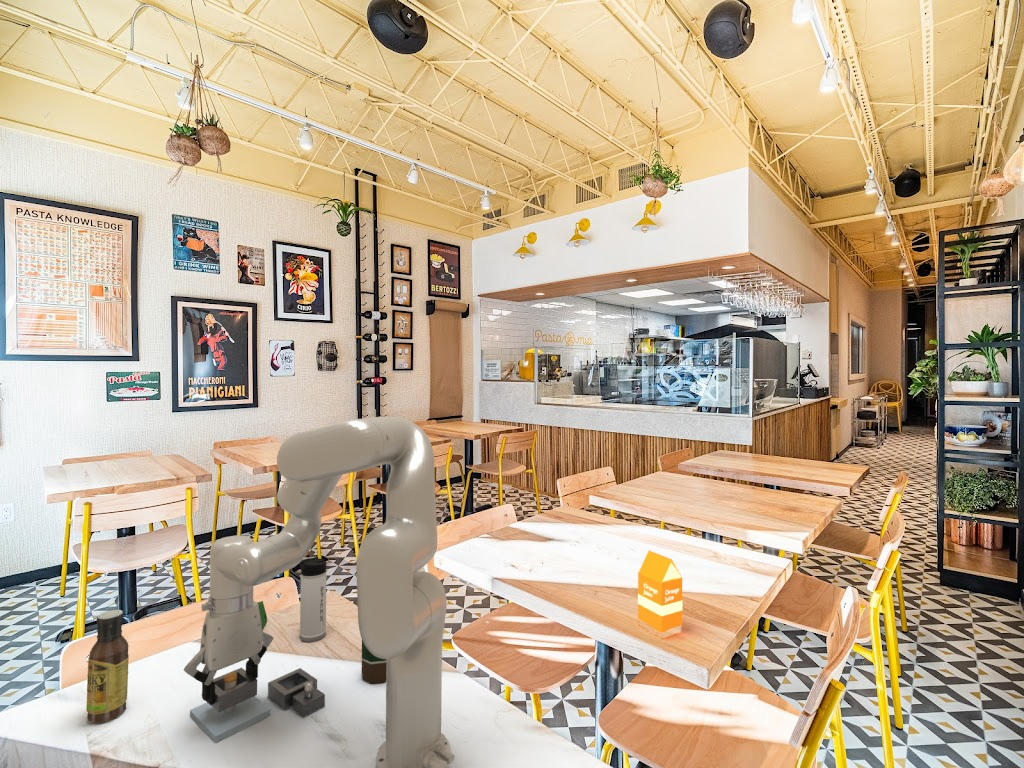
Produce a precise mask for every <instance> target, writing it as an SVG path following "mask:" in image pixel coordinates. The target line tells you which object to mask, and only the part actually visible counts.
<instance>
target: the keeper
mask: <svg viewBox="0 0 1024 768" xmlns="http://www.w3.org/2000/svg"><path fill="white" fill-rule="evenodd" d="M228 673H229V672H228ZM226 674H227V673H226ZM224 675H225V674H224ZM236 680H237V673H229V674H227V675H225V676H224V682H225V690H227V689H229V688H232V687H234V686H236ZM270 716H271V708H270V707H269V706H267V705H266V704H265V703H264V702H262V700H260V699H259V698H257V697H256V696H254V697H252V698H250V699H247V700H245V701H243V702H241V703H239V704H237V705H235V706H232V707H230V708H228V709H226V710H224V711H222V712H220V713H219V712H217V711H216V710H215V709H214V708H213V707H212V706H211V705H210V704H209V703H207V702H205V703H203V704H201V705H198V706H196V707H194V708H191V709H190V710H189V717H190V718H191V719H192V720H193V721H194V722H195V723H196V725H197V726H199V728H200V729H201V730H202V731H203V732H204V733H205V734H206V735H207V736H208V737H209V739H211V740H212V742H213V743H214V744H217V743H219V742H220V741H222V740H224V739H227V738H229V737H230V736H232V735H235V734H236V733H239V732H240V731H242V730H244V729H246V728H249V727H250V726H252V725H254V724H256V723H257V722H260V721H262V720H264V719H266V718H268V717H270Z"/></svg>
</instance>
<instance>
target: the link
mask: <svg viewBox="0 0 1024 768" xmlns="http://www.w3.org/2000/svg"><path fill="white" fill-rule="evenodd" d="M307 681H312V682H313V686H314V687H315V688H317V689H318V678H316V677H314V676H313V675H311V674H310V673H308V672H307V671H306V670H303V669H302V668H301V667H300V668H297V669H295V670H293V671H291V672H288V673H286V674H283V675H282V676H280V677H277V678H275V679H273V680H270V681H269V682H268V683H267V697H268V699H269V700H271V701H272V702H273V703H274V704H276V705H277V706H278V707H280V708H281V709H282V710H283V711H286V710H288V709H292V696H294V695H296V694H298V693H300V692H302V691H304V684H305V683H306V682H307Z"/></svg>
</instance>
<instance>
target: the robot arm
mask: <svg viewBox="0 0 1024 768" xmlns="http://www.w3.org/2000/svg"><path fill="white" fill-rule="evenodd" d="M383 465H389V466H390V472H389V476H388V480H387V483H386V488H385V489H386V491H385V499H386V515H385V516H386V517H385V521H384V523H383V524H380V525H378V526H377V527H375V528H374V529H371V531H369V533H368V534H367V535H366V536H365V537H364V538H363V540H362V542H361V543H360V546H359V548H358V552H357V557H356V563H355V564H356V567H355V568H356V595H357V600H356V601H357V623H358V629H359V630H358V631H359V634H360V638H361V642H362V641H363V643H364V645H365V646H366V648H367V649H368V650H369V652H370V653H372V654H373V655H374V656H376V657H378V658H381V659H387V667H386V682H385V741H384V742H383V743H382V744H381V745H380V747H379V748H378V750H377V753H376V759H375V761H376V762H375V763H376V764H375V765H376V768H451V766H450V765H451V764H452V763H453V762H454V760H455V754H454V753H452V752H451V745H450V743H449V740H448V739H447V737H446V735H445V734H443V733H442V678H443V677H442V676H443V673H442V672H443V671H442V668H443V642H444V641H443V639H444V638H443V637H444V631H445V622H446V618H447V617H446V615H447V607H448V606H447V594H446V589H445V587H444V585H443V583H442V581H441V580H440V579H439V578H438V577H437V576H436V575H434V574H433V573H432V572H428V571H425V570H422V571H421V569H422V568H423V567H425V566H426V565H427V564H428V563H429V562H430V561H431V560H433V558H434V556H435V555H436V552H437V550H438V527H437V526H438V525H437V524H438V522H437V504H436V503H437V499H436V486H435V480H436V479H435V477H436V476H435V468H436V467H435V465H436V463H435V454H434V448H433V445H432V442H431V440H430V438H429V436H428V435H427V433H426V432H425V431H424V430H423V428H422V427H420V426H419V425H417V423H415V422H413V421H411V420H409V419H406V418H404V417H400V416H389V415H387V416H386V415H385V416H375V417H365V418H356V419H349V420H345V421H340V422H337V423H334V424H333V423H332V424H329V425H326V426H321V427H317V428H314V429H309V430H305V431H301V432H295V433H294V434H291V435H290V436H289V437H287V438H286V439H285V440H284V441H283V442H282V444H281V445H280V447H279V450H278V452H277V456H276V466H277V469H278V472H279V474H281V476H282V477H283V478H284V479H285V480H283V483H282V484H281V486H280V488H279V489H278V491H277V495H276V500H277V503H278V505H279V506H280V508H281V509H282V510H284V511H285V512H286V513H288V514H289V515H290V517H289V519H288V520H287V522H286V524H284V527H283V528H282V530H281V531H280V532H279V533H277V534H275V535H271V536H268V537H266V538H264V539H260V540H258V541H256V542H254V540H253V539H252V538H251V537H249V536H247V535H230V536H224V537H221V538H220V539H216V540H215V541H214V542H213V543H212V544H211V546H210V551H209V596H208V600H207V601H206V602H205V603H202V604H201V611H202V612H205V611H207V612H206V614H205V617H204V620H203V626H202V630H201V631H202V632H201V637H200V638H201V639H200V645H199V646H200V649H199V651H198V652H197V653H196V654H195V655H194V656H193V657H192V658H191V660H190V661H189V662H188V663H187V664H186V665H185V666H184V668H183V671H184V673H186V674H187V675H189V676H190V677H192V678H193V679H195V680H196V681H198V682H200V683H201V697H202V700H203V701H204V702H205V703H209V704H210V705H213V704H214V702H215V683H214V682H213V679H215V676H216V674H217V671H220V670H223V669H225V668H227V667H230V666H233V665H235V664H238V663H240V662H242V661H245V660H247V661H246V663H245V671H246V672H247V673H249V674H250V675H251V676H253V677H254V678H256V679H258V678H259V664H261V661H262V658H263V657H264V655H265V653H267V651H268V648H269V647H270V645H271V643H272V642H273V640H274V637H273V636H272V635H271V634H268V633H267V632H265V631H264V630H263V629H262V626H261V618H260V612H259V607H258V603H257V601H255V600H254V587H255V586H258V585H261V584H262V583H265V582H267V581H269V580H271V579H273V578H276V577H277V576H279V575H281V574H283V573H285V572H288V571H289V570H291V569H293V568H295V567H296V566H298V564H299V563H300V562H301V561H302V560H304V559H305V557H307V556H306V555H308V552H309V551H310V550H311V548H312V546H313V545H314V543H315V542H316V540H317V538H318V536H319V535H320V532H321V524H322V513H321V511H322V510H323V507H324V506H325V504H326V503H327V501H328V499H329V498H330V497H331V494H332V493H333V491H334V489H335V488H336V486H337V485H338V483H339V481H340V479H342V477H343V475H347V474H351V473H356V472H362V471H364V470H369V469H372V468H377V467H379V466H383ZM299 565H300V564H299ZM200 664H202V665H204V667H203V669H202V671H201V670H199V669H197V668H198V667H199V665H200Z"/></svg>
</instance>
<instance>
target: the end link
mask: <svg viewBox="0 0 1024 768" xmlns="http://www.w3.org/2000/svg"><path fill="white" fill-rule="evenodd" d="M229 673H237V680H236V686H234V687H232V688H229V689H227V690H225V682H224V676H225V675H227V674H229ZM213 682H214V683H215V702H214V704H213V705H211V706H212V707H213V708H214V709H215V710H216V711H217V712H219V713H220V712H222V711H224V710H226V709H228V708H230V707H232V706H235V705H237V704H239V703H241V702H243V701H245V700H247V699H250V698H252V697H254V696H255V697H256V696H258V678H254V677H253V676H251V675H250V674H249V673H247V672H246V669H244V668H243V667H240V668H237V669H234V670H233V671H230V672H226V673H225V674H223V675H222V674H221V675H219V676H218V677H214V678H213Z"/></svg>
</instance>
